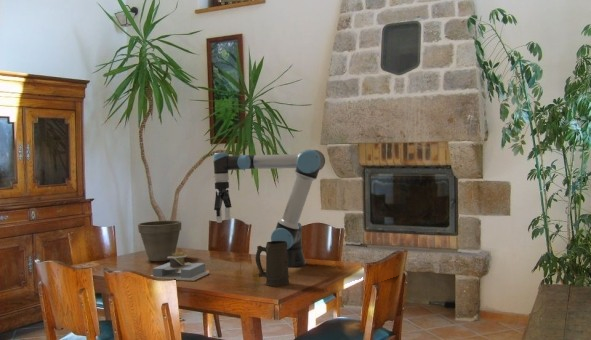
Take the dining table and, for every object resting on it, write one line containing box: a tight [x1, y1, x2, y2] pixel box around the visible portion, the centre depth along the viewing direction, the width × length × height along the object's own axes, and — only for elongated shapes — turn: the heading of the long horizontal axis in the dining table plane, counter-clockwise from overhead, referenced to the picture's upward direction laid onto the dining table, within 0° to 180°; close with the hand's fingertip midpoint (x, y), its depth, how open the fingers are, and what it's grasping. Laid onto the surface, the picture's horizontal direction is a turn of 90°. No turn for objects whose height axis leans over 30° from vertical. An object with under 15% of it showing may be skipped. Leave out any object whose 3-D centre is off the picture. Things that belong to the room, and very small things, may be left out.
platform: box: [163, 251, 194, 270], centre depth 312 cm, size 12×18×7 cm, turn 126°
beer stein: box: [255, 240, 290, 287], centre depth 289 cm, size 15×11×20 cm
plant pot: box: [137, 219, 182, 262], centre depth 365 cm, size 25×25×22 cm
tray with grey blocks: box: [151, 261, 210, 282], centre depth 313 cm, size 24×18×5 cm
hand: (223, 221), depth 334 cm, fingers open, 13 cm apart
